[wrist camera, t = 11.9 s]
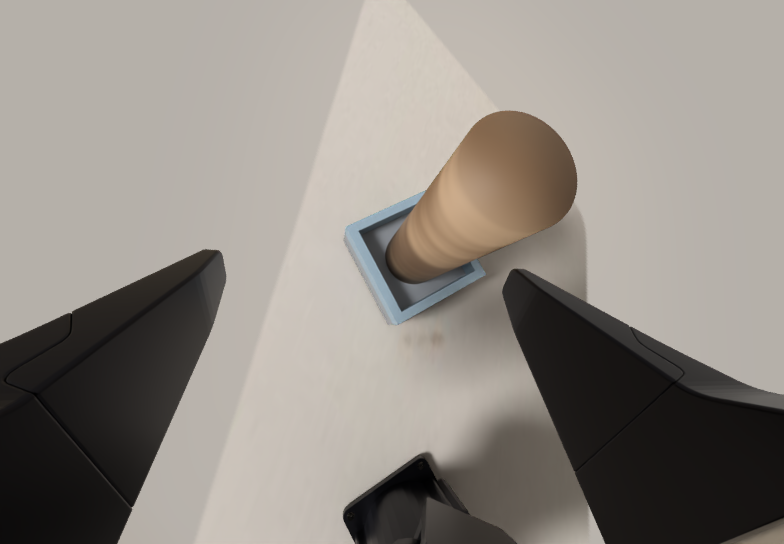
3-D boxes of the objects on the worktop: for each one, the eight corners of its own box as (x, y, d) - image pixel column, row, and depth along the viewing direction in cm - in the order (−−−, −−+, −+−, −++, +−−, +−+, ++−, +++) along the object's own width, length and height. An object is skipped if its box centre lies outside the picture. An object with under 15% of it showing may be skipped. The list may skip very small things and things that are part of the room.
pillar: (424, 294, 22) (553, 254, 9) (375, 267, 21) (439, 187, 9) (447, 247, 23) (592, 152, 10) (400, 220, 22) (491, 88, 10)
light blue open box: (388, 324, 23) (398, 324, 20) (343, 240, 23) (346, 226, 20) (464, 281, 25) (486, 274, 21) (422, 203, 25) (436, 185, 22)
